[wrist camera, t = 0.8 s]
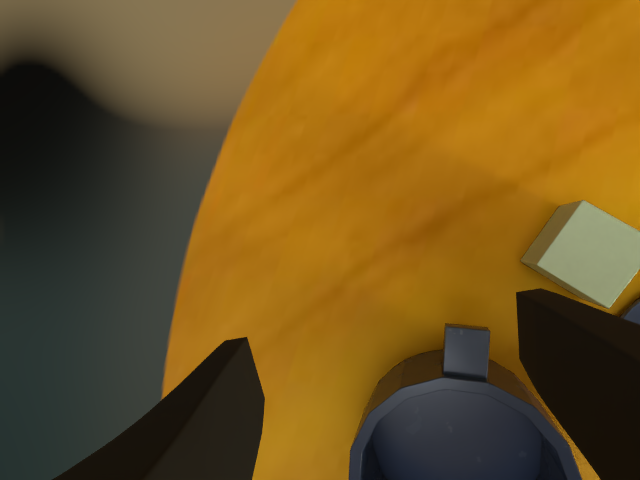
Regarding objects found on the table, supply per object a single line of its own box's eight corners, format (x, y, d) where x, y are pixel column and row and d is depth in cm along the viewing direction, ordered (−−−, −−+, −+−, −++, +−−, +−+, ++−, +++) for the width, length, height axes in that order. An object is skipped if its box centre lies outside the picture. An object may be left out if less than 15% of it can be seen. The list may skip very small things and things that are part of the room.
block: (623, 242, 27) (660, 242, 23) (580, 298, 27) (609, 309, 23) (559, 205, 28) (583, 199, 24) (519, 260, 28) (536, 264, 24)
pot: (558, 320, 28) (596, 344, 22) (542, 586, 28) (574, 684, 22) (371, 303, 31) (357, 319, 25) (358, 543, 31) (341, 619, 25)
